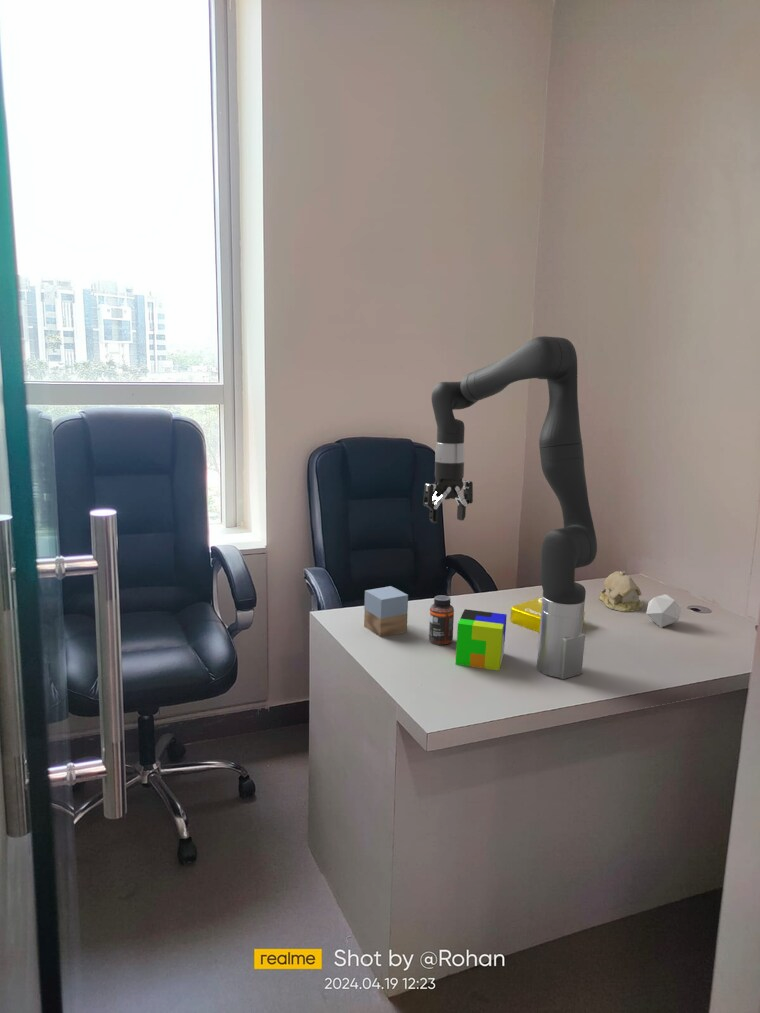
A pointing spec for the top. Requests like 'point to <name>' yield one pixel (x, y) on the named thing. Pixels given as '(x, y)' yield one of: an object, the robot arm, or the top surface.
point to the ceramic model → (621, 592)
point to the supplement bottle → (441, 620)
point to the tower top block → (386, 602)
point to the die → (663, 610)
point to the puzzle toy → (481, 639)
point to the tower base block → (385, 624)
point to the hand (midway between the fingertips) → (447, 521)
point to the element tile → (528, 614)
